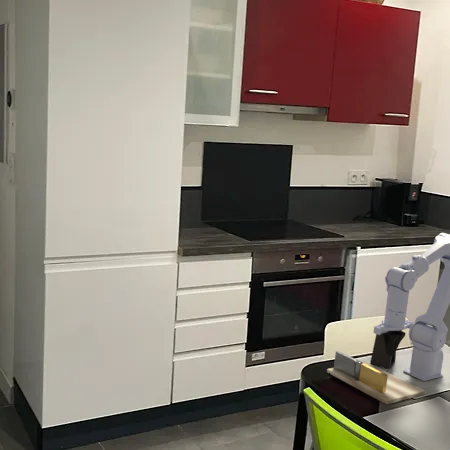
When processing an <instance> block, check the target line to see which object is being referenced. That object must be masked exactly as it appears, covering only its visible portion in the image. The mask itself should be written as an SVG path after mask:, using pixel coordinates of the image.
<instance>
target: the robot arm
mask: <svg viewBox="0 0 450 450" xmlns="http://www.w3.org/2000/svg"><path fill="white" fill-rule="evenodd" d="M437 260H440V261H441V262H442V263H443V264H444V265H443V266H444V268H443V271H442V273H441V275H440V278H439V281H438V283H437V284H436V288H435V290H434V293H433V294H432V298H431V300H430V302H429V305H428V308H427V309H426V312H425V313H423V314H420V315H418V316H416V318H415V320H414V321H411V320H406V318H407V316H406V315H407V309H408V304H409V294H410V291H411V290H412V289H414V287H415V284H416V283H417V281H418V279H419V278H420V277H422V276H423V275H424V274H425V273H427V272H428V271H429V269H430V265H431V264H433V263H435V262H436V261H437ZM384 281H385V284H386V292H387V296H386V297H387V298H386V306H385V312H384V313H385V314H384V319H382V320H381V323H379V324H378V325H374V327H373V334H375V335H376V334H378V335H381V334H382V337H383V339H384V343H385V349H386V354H387V355H390V356H394V355H395V353H396V354H397V350H398V348H399V345H400V343H401V342H402V340H403V339H404V338H405V337H406V332H404V331H405V330H406V329H409V330H408V338H409V340H410V341H411V343H410V344H411V346H412V352H411V357H410V358H411V359H410V366H409V368H405V369H404V370H403V372H404V373H405V374H407V375H409V376H412V377H414V378H416V379H419V381H422V382H426V381H430V380H433V379H436V378H443V377H444V374H443V373H442V369H443V367H442V366H443V362H444V352H443V348H444V346H445V344H446V341H447V335H448V331H449V329H448V327H447V325H446V323H445V321H444V317H445V316H446V313H447V310H448V308H449V305H450V234H448V233H445V232H441V233H439V234H438V235H437V236H435V238H434V242H433V244H432V245H431V246H430V247H429V248H428V249H426V250H425V252H423V253H422V254H414V255H412V256H411V258H409V259H407V261H405V262H404V263H403V264H401V265H399V266H394V267H391V268H390V269H388V271H387V274H386V276H385V277H384Z"/></svg>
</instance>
